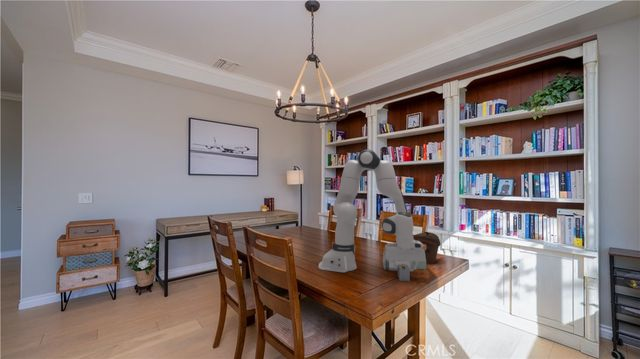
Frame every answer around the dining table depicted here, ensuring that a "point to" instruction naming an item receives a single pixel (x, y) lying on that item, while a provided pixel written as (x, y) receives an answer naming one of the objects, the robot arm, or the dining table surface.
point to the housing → (403, 272)
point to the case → (429, 245)
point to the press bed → (390, 266)
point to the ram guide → (419, 264)
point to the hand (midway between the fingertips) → (405, 269)
